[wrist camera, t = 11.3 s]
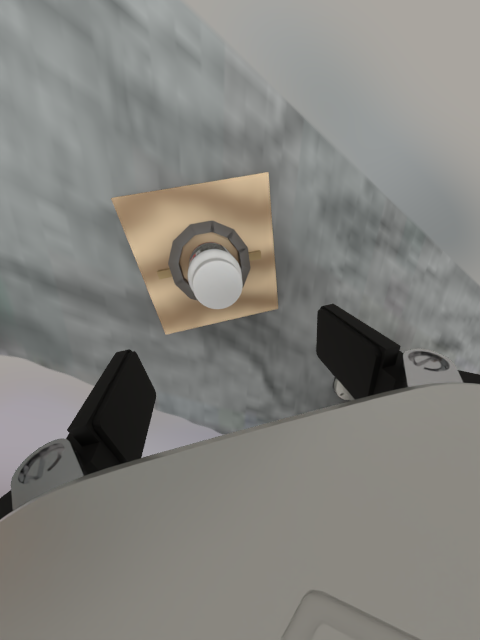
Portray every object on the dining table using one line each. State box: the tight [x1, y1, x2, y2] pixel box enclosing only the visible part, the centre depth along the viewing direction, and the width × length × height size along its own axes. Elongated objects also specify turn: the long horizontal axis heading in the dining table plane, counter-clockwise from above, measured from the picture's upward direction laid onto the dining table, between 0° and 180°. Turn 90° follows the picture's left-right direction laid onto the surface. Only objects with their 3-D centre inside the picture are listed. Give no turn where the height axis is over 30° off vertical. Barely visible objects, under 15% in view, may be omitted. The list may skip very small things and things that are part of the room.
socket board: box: [111, 172, 278, 334], centre depth 27 cm, size 18×18×2 cm
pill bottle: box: [188, 242, 243, 309], centre depth 23 cm, size 6×6×10 cm
